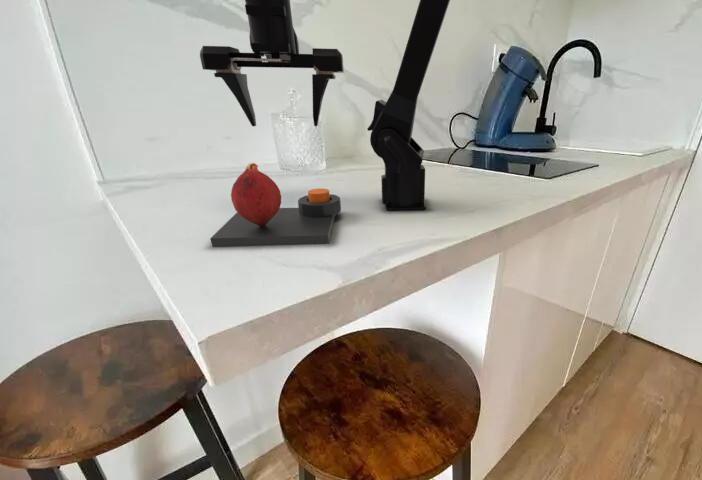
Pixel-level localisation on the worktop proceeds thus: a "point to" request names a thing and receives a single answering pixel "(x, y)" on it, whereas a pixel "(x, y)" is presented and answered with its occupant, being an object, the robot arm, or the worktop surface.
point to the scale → (283, 226)
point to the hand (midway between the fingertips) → (285, 126)
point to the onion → (255, 196)
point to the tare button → (318, 195)
